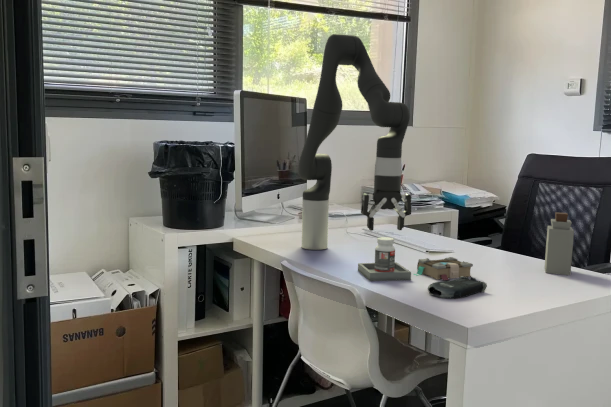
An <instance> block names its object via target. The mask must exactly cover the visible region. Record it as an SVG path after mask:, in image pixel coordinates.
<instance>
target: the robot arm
mask: <svg viewBox="0 0 611 407" xmlns="http://www.w3.org/2000/svg"><path fill="white" fill-rule="evenodd" d="M323 51H324V52H323V58H322V62H321V63H322V65H321V72H320V78H319V84H318V88H317V91H316V92H317V93H316V96H315V99H314V104H313V108H312V112H311V113H312V114H311V117H310V123H309V127H308V131H307V135H306V138H305V142H304V144H303V145H304V146H303V148H302V151H301V154H300V157H299V161H298V167H297V168H298V169H297V170H298V172H297V173H298V176H299V178H300V179H302V180H305V181H316V183H315V184H314V185H313V186H311V187H310V188H307V189H305V190H304V191H303V192H302V201H301V202H302V204H301V205H302V207H301V208H302V209H301V211H302V213H301V215H302V216H301V248H302V249H304V250H305V249H306V250H310V251H311V250H313V251H315V250H317V251H318V250H319V251H320V250H326V249H328V247H329V246H328V240H329V211H330V210H329V205H330V204H329V202H330V193H331V185H332V184H331V181H332V170H333V169H332V168H333V166H332V165H333V164H332V159H331V156H330V155H329V154H327V153H317V152H318V151H319V147H320V146H321V145H322V144H323V143H324V141H325V140H326V139H327V138H328V137H329V136H330V135H331V134H332V133H333V132H334V130H336V128H337V127H338V124H339V121H340V118H341V115H342V110H343V100H342V97H341V96H342V95H341V94H340V90H339V88H338V84H337V72H338V67H339V66H353V67H354V68H355V69H356V70H357V72H358V76H357V88H358V90H359V93H360V95H361V96H362V97H363V99H364V100H365V102H366V103H367V106H368V110H369V114H370V117H371V120H372V122H373V123H374V124H375V125H376V126H377V127H380V128H390V129H389V130H388V133H387V134H386V135H383V136H380V137H378V138H377V141H376V156H375V164H374V177H373V178H374V180H373V182H374V183H373V185H374V186H373V192H372V194H370V193H369V194H368V193H366V192H365V193H363V194H362V197H361V198H362V199H361V207H360V208H361V209H360V214H361V215H363V216H366V220H367V221H366V227H367V228H368V230H369V231H374V225H375V224H374V222H375V217H374V216H375V215H376V214H377V213H378V212H379V210H394V211H395V212H396V214H397V215H398V216H397V221H396V222H397V225H396V230H398V231H402V230H403V229H404V227H405V217H407V216H410V215H411V216H412V195H411V194H408V193H405V194H401V188H402V173H403V171H402V170H403V168H402V167H403V163H402V153H403V150H402V148H403V142H404V139H405V136H406V132H407V129H408V127H409V123H410V117H411V116H410V115H411V114H410V110H409V108H408V105H406V104H405V103H404V102H399V101H397V102H396V101H395V102H394V101H390V99H391V92H390V89H389V88H388V87H387V85H386V84H385V83H384V82H383V80H382V79H381V77H380V75H379V74H378V73H377V71H376V69H375V67H374V64H373V63H372V60H371V58H370V55H369V53H368V51H367V48H366V47H365V44H364V43H363V41H362V39H361V38H360V37H359V36H357V35H355V34H343V33H342V34H341V33H332V34H330V36H328V38H327V40H326V42H325V47H324V50H323ZM371 200H373V204H372V205H371V207H370V208H369V203H370V202H371ZM401 200H402V202H404V204H403V206H404V207H403V208H404V209H402V207H401V206H400V204H399V203H400V201H401Z"/></svg>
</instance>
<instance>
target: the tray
mask: <svg viewBox="0 0 611 407" xmlns="http://www.w3.org/2000/svg"><path fill="white" fill-rule="evenodd" d="M357 272H358V273H360V274H361V275H362V276H363V277H364V278H365V279H366V280H368V281H369V282H388V281H411V280H412V271H411V270H409V269H407V268H406V267H404V266H402V265H401V264H400V263H398V262H396V261H395V267H394V272H375V262H358V263H357Z"/></svg>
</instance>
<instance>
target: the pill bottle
mask: <svg viewBox="0 0 611 407" xmlns="http://www.w3.org/2000/svg"><path fill="white" fill-rule="evenodd" d="M376 241H377V242H376V243H377V245H376V246H375V248H374V263H375V272H394V267H395V262H396V261H395V259H396V247H395V246H393V244H394V242H395V240H394V238H393V237H387V236H386V237H385V236H382V237H377V240H376Z"/></svg>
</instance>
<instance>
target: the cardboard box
mask: <svg viewBox="0 0 611 407" xmlns="http://www.w3.org/2000/svg"><path fill="white" fill-rule="evenodd" d="M416 265H417V267H416V270H417V272H416V273H413V275H414V276H416V277H417V276H422V275H424V276H428V277H430V278H432V279H434V280H437V281H439V280H440V281H451V279H459V278H460V277H461V276H463V277H469V278H470V277H472V275H471V268H472V267H474V264H473V263H472V262H469V261H468V262H467V261H460V260H459V259H458V258H456V257H453V256H449V257H445V258H442V259H430V258H428V257H427V258H426V257H425V258H420V259H418V261H417V264H416Z"/></svg>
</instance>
